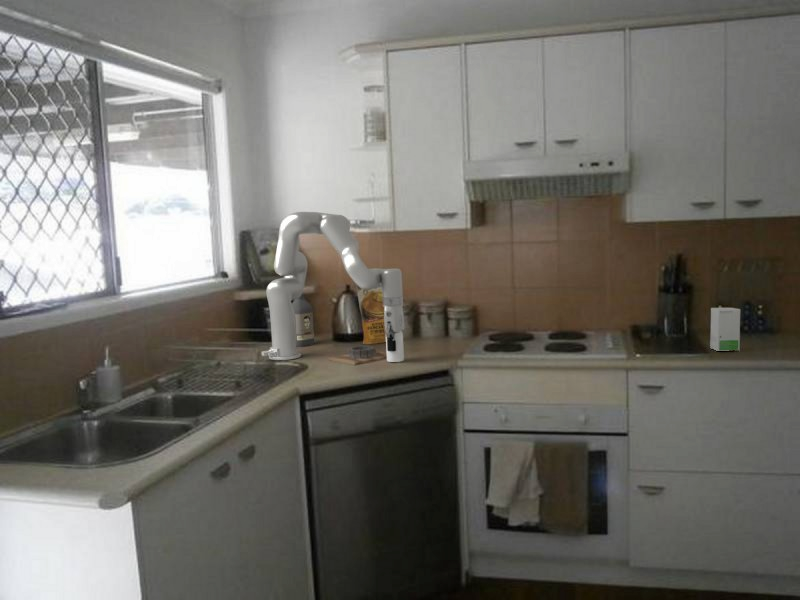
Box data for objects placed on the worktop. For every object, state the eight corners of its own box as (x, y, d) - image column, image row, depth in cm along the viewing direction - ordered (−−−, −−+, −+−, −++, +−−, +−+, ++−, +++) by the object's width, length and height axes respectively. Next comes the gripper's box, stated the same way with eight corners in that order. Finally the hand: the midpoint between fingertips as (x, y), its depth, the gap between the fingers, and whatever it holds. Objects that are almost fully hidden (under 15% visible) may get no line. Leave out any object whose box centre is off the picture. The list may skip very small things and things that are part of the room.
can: (394, 358, 260) (392, 327, 258) (407, 360, 256) (406, 328, 254) (383, 361, 255) (381, 330, 254) (396, 363, 251) (395, 331, 249)
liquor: (288, 345, 300) (283, 277, 297) (305, 342, 306) (301, 276, 303) (299, 347, 294) (295, 278, 290) (317, 344, 300) (313, 276, 296)
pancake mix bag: (356, 343, 297) (352, 279, 294) (395, 338, 305) (392, 276, 302) (362, 345, 291) (358, 280, 288) (401, 340, 299) (399, 277, 296)
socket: (354, 365, 251) (354, 354, 251) (329, 359, 263) (328, 349, 263) (395, 356, 264) (394, 346, 264) (369, 351, 276) (368, 342, 276)
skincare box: (717, 352, 245) (717, 309, 244) (709, 349, 252) (709, 307, 250) (740, 351, 245) (741, 308, 244) (731, 348, 252) (732, 306, 250)
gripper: (394, 304, 243) (397, 354, 245) (409, 299, 260) (411, 345, 262) (375, 304, 246) (377, 353, 248) (390, 299, 262) (392, 345, 264)
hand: (394, 348), depth 255 cm, fingers closed on can, 6 cm apart
